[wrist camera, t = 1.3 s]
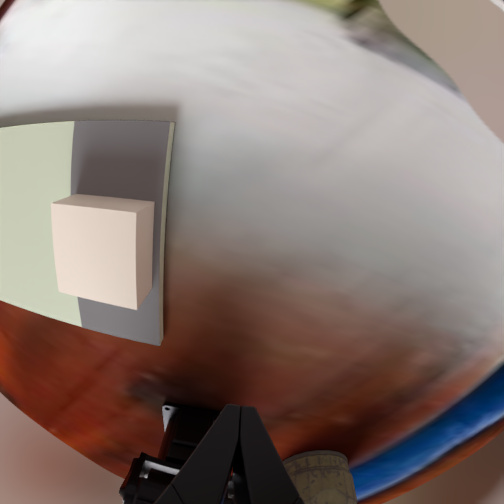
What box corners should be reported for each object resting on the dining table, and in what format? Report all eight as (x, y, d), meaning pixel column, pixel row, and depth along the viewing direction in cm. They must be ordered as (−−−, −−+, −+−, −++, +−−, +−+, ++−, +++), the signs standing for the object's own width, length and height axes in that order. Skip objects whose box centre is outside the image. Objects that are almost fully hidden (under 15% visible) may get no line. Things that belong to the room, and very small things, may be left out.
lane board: (163, 338, 23) (160, 345, 22) (-27, 283, 22) (-33, 286, 22) (174, 122, 17) (170, 121, 16) (-40, 135, 17) (-47, 136, 16)
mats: (160, 345, 22) (159, 346, 22) (-33, 286, 22) (-33, 286, 22) (170, 121, 16) (170, 121, 16) (-47, 136, 16) (-47, 136, 16)
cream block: (152, 288, 20) (137, 310, 17) (79, 273, 20) (58, 291, 17) (154, 201, 18) (136, 212, 15) (76, 193, 18) (50, 203, 15)
